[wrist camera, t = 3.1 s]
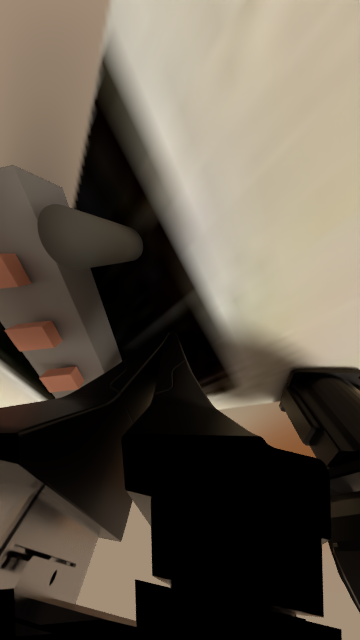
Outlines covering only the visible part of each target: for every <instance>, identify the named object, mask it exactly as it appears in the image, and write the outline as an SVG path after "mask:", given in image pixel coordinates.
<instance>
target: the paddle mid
mask: <svg viewBox="0 0 360 640" xmlns="http://www.w3.org/2000/svg"><path fill="white" fill-rule="evenodd" d="M4 331H5V332H6V333H7V335H8V336H9V338H10V339H11V340H12V342H13V343H14V344H15V346H16V347H17V348H18V350H19V351H29V350H38V349H47V348H55V347H56V346H57V345H58V344H60V343H61V342H62V341H63V340H62V338H61V337H60V335H59V333H58V331H57V329H56V327H55V326H54V324H53V322H52V321H43V322H33V323H24V324H17V325H14V326H12V327H10V328H8V329H6V330H4Z"/></svg>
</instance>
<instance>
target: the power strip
mask: <svg viewBox="0 0 360 640" xmlns="http://www.w3.org/2000/svg"><path fill="white" fill-rule="evenodd" d="M51 204H60V205H63V206H66V207H69V206H68V203H67V200H66V197H65V194H64V192H63V189H62V187H60V186H57V185H56V184H53V183H51V182H49V181H47V180H44V179H42V178H40V177H38V176H36V175H34V174H32V173H29V172H27V171H25V170H23V169H21V168H19V167H16V166H14V165H11V166H6V167H2V168H0V254H7V253H15V254H16V256H17V258H18V259H19V261H20V263H21V265H22V267H23V269H24V270H25V272H26V274H27V276H28V278H29V280H30V281H31V283H32V284H28V285H24V286H19V287H11V288H1V289H0V322H1V323H2V325H3V326H4V327H5V329H8V328H10V327H12V326H14V325H17V324H24V323H33V322H43V321H52V322H53V324H54V326H55V327H56V329H57V331H58V333H59V335H60V337H61V338H62V340H63V341H62V342H61V343H60V344H58V345H57V346H56V347H55V348H47V349H38V350H29V351H22V352H23V354H24V355H25V356H26V358H27V359H28V360H29V362H30V363H31V365H32V366H33V367H34V369H35V370H36V372H37V373H38V374H39V376H41V375H43V374H44V373H45V372H46V371H47V370H49V369H58V368H67V367H76V366H77V368H78V370H79V372H80V373H81V375H82V377H83V379H84V382H83V384H82V385H81V387H82V386H84V385H86V384H87V383H89V382H91V381H92V380H94V379H96V378H97V377H99V376H101V375H102V374H104V373H105V372H107V371H109V370H110V369H112V368H113V367H115V366H116V365H118V364H119V363H121V362H122V358H121V356H120V353H119V350H118V347H117V344H116V341H115V338H114V335H113V333H112V330H111V327H110V324H109V321H108V318H107V315H106V312H105V310H104V307H103V304H102V301H101V298H100V295H99V292H98V289H97V287H96V284H95V281H94V278H93V275H92V272H91V269H90V268H86V269H80V270H71V269H67V268H65V267H63V266H61V265H60V264H58V263H57V262H56V261H54V260H53V259H52V258H51V257H50V255H49V254H48V253H47V252H46V250H45V248H44V247H43V245H42V243H41V240H40V238H39V234H38V227H37V222H38V217H39V214H40V212H41V211H42V210H43V209H44V208H45V207H46V206H48V205H51ZM81 387H80V388H81ZM74 391H76V390H68V391H60V392H52V394H53V395H54V396H55V398H56V399H57V398H61V397H63V396H66V395H68V394H70V393H72V392H74Z"/></svg>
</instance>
